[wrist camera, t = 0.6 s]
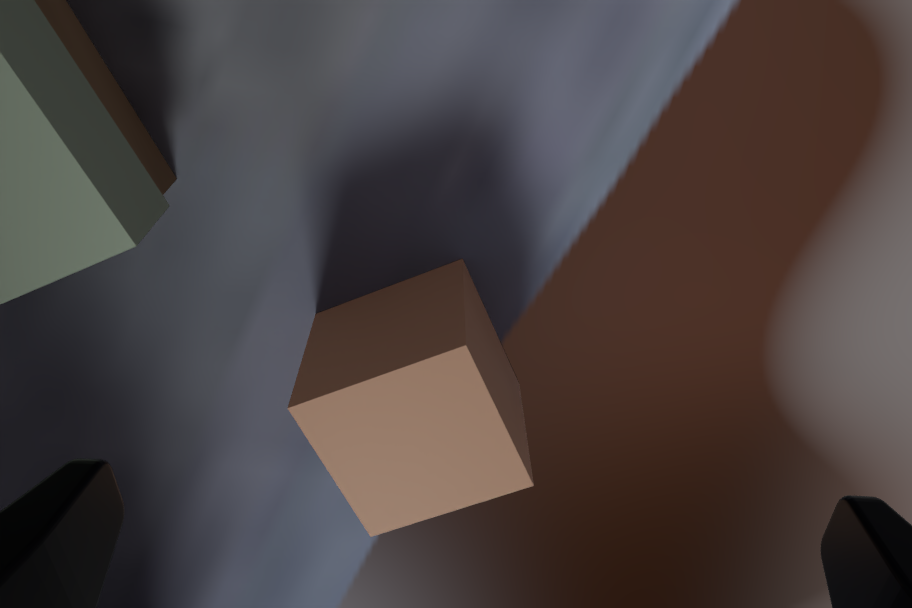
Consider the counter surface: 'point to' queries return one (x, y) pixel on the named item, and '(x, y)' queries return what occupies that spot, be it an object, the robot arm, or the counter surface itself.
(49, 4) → the walnut slab
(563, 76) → the counter surface
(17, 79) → the sage slab
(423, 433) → the tan cube
